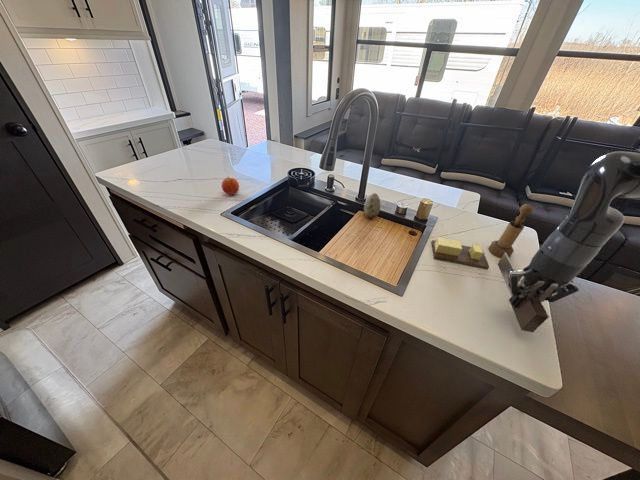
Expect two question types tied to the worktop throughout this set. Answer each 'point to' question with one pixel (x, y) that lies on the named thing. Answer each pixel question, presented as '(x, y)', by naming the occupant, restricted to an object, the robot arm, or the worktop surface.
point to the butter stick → (448, 246)
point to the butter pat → (476, 251)
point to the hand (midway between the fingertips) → (519, 306)
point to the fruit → (230, 186)
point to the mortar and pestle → (510, 234)
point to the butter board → (461, 257)
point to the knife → (524, 302)
